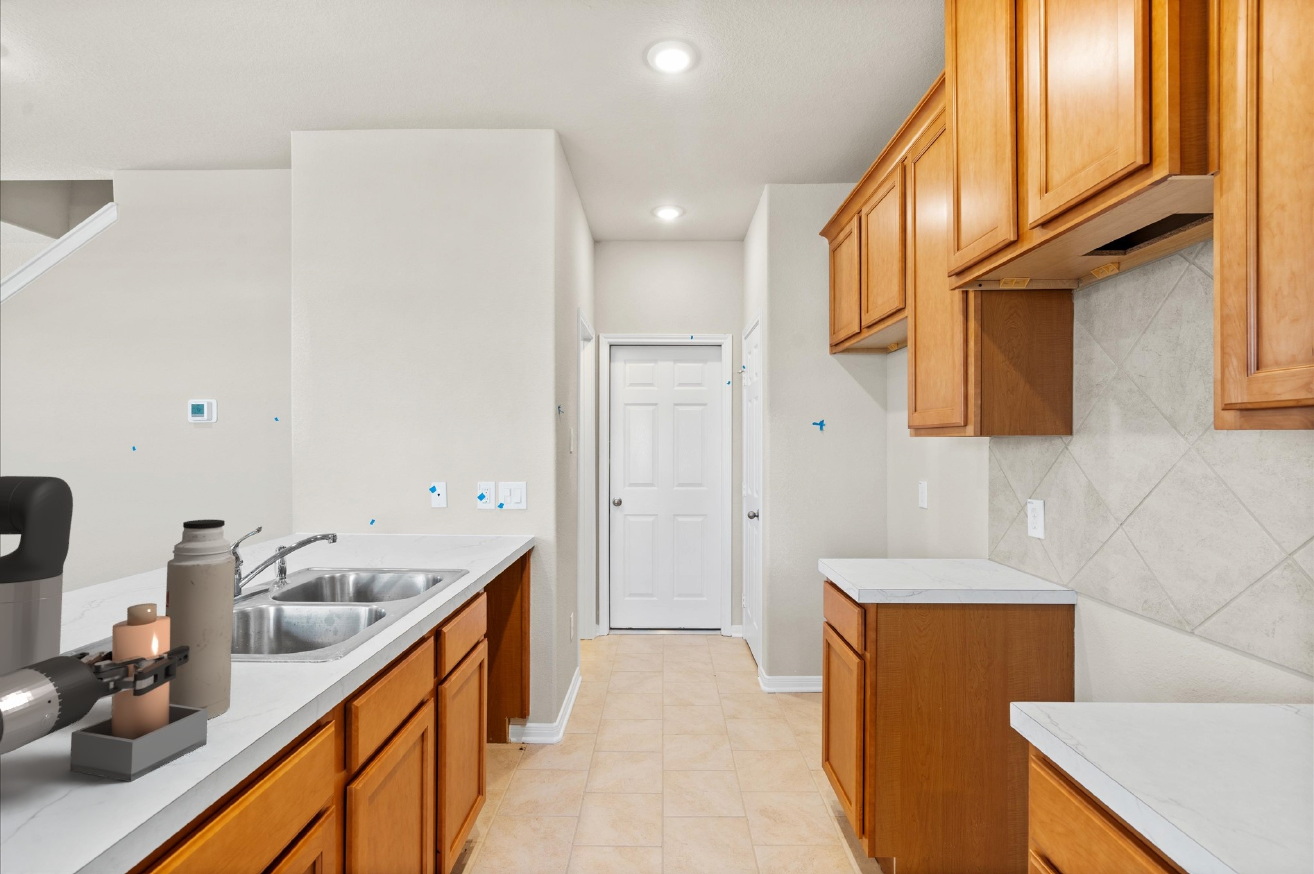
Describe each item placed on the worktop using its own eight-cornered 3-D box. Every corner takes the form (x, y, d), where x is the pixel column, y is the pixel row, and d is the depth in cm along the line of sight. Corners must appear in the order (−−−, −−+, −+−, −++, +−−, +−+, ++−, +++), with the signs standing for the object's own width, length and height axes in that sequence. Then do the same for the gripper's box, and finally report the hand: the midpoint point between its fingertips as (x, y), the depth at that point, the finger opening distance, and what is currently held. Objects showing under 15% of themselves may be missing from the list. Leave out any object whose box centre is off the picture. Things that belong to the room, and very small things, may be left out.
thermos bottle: (151, 728, 84) (159, 524, 84) (173, 704, 91) (181, 517, 92) (220, 720, 86) (227, 523, 87) (236, 698, 94) (243, 516, 94)
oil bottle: (99, 758, 74) (100, 610, 74) (146, 736, 79) (147, 599, 79) (134, 764, 73) (136, 614, 73) (179, 742, 78) (181, 602, 78)
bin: (70, 770, 73) (71, 732, 73) (150, 734, 82) (151, 701, 82) (131, 781, 71) (132, 742, 71) (206, 743, 80) (207, 709, 80)
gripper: (89, 672, 62) (216, 625, 79) (-44, 666, 63) (110, 620, 79) (86, 747, 62) (214, 683, 78) (-48, 740, 62) (107, 678, 79)
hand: (161, 652), depth 79 cm, fingers open, 6 cm apart
